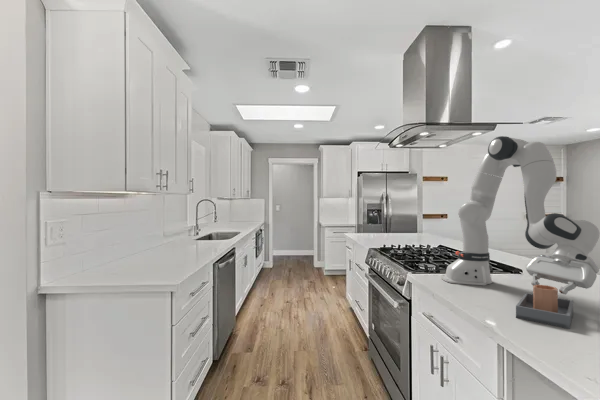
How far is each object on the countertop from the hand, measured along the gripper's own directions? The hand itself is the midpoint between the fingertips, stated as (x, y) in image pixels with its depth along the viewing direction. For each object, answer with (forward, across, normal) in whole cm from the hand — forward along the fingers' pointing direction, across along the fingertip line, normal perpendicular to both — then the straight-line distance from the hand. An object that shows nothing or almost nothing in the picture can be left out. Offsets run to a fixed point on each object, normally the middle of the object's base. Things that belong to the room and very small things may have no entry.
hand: (547, 288), depth 112 cm
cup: (+6, 0, +4) cm, 8 cm away
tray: (+7, 0, +5) cm, 9 cm away
